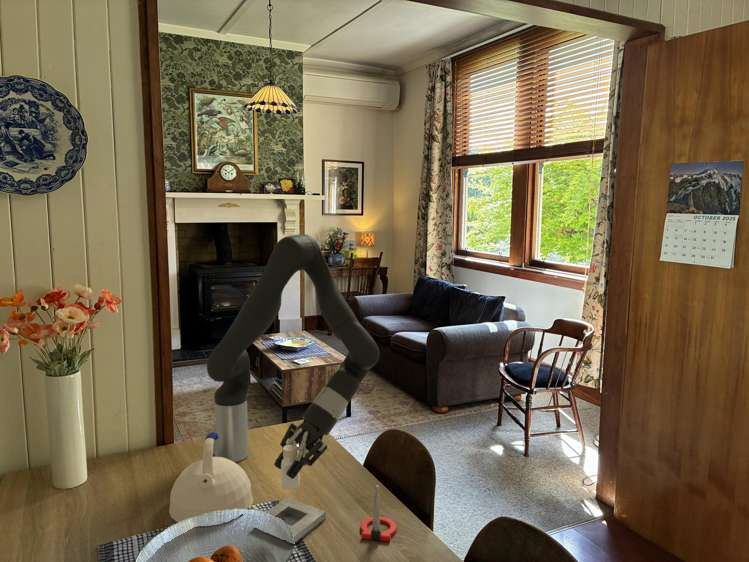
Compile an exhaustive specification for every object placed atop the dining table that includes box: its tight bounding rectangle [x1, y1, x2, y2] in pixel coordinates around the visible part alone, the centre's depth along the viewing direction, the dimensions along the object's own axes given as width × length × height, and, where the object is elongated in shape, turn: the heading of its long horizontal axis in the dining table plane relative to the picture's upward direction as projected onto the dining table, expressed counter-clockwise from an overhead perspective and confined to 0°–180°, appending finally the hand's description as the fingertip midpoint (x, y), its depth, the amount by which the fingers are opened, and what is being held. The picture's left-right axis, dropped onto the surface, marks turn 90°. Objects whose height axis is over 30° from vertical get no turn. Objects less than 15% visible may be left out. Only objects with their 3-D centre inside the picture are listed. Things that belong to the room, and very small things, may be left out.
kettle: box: [168, 431, 254, 523], centre depth 141 cm, size 20×21×18 cm
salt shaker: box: [280, 445, 301, 490], centre depth 132 cm, size 4×4×10 cm
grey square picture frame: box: [265, 497, 327, 543], centre depth 134 cm, size 12×12×2 cm
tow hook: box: [360, 485, 398, 543], centre depth 132 cm, size 8×13×9 cm
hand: (283, 471), depth 131 cm, fingers closed on salt shaker, 5 cm apart
